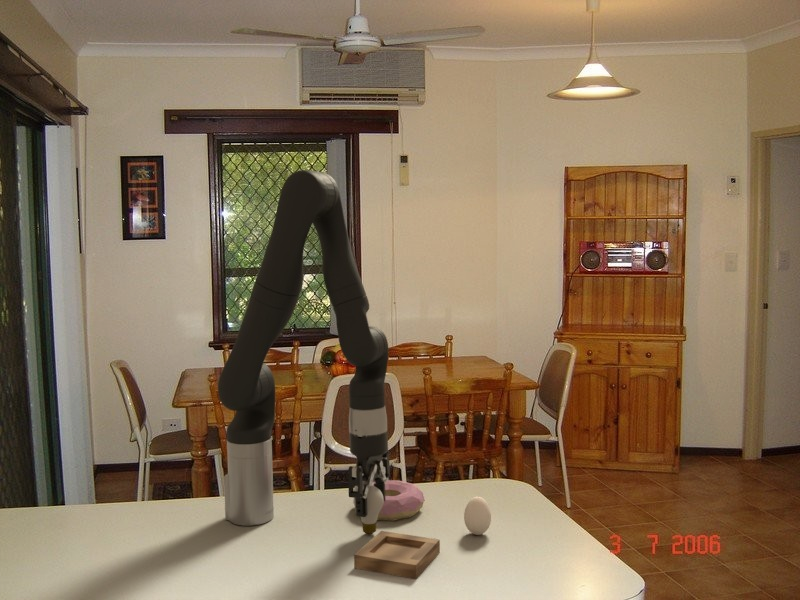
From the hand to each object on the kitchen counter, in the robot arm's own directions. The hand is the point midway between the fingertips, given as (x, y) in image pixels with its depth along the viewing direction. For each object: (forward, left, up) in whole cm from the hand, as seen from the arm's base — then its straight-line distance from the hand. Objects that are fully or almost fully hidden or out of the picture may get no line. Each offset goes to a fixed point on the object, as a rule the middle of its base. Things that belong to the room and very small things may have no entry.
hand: (371, 508), depth 159 cm
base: (+10, -9, -5) cm, 14 cm away
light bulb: (0, 0, -6) cm, 6 cm away
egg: (+20, +8, -6) cm, 22 cm away
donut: (-2, +14, -6) cm, 15 cm away
